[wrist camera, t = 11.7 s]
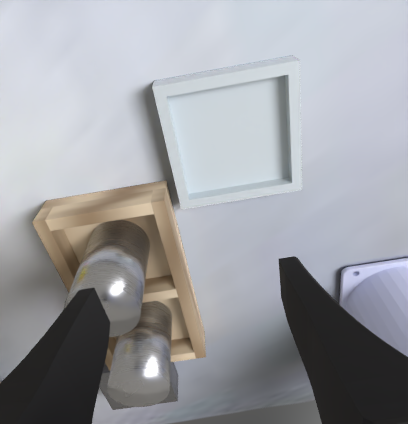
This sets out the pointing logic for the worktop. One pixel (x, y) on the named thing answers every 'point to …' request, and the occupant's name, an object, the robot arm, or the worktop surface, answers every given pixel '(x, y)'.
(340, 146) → the worktop surface
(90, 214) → the wooden compartment tray
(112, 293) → the billet
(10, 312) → the worktop surface
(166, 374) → the seated billet
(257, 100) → the tray
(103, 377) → the grey square socket block
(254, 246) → the worktop surface
